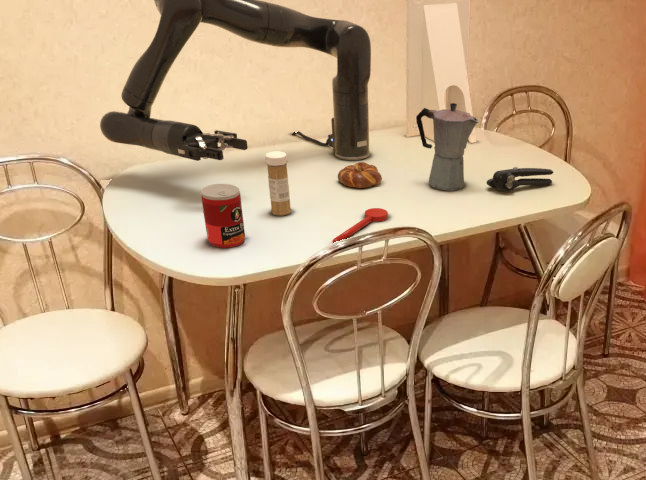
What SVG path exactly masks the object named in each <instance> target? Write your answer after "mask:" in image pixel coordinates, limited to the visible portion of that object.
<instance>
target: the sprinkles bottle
mask: <svg viewBox="0 0 646 480" xmlns="http://www.w3.org/2000/svg"><path fill="white" fill-rule="evenodd" d="M265 164H266V167H267V175H268V176H267V179H268V180H267V181H268V189H269V199H270V208H271V210H270V212H271V214H273V215H274V216H287V215H289V214H291V212H292V208H291V198H290V184H289V175H288V156H287V153H286V152H284V151H274V150H273V151H270V152H267V153H266V154H265Z"/></svg>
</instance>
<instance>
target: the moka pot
mask: <svg viewBox="0 0 646 480" xmlns="http://www.w3.org/2000/svg"><path fill="white" fill-rule="evenodd" d="M450 106H451V110H446V109H443V110H440V111H436V110H429V109H426V108H424V109H423V110H422V111H421V112H420V113H419V114H418V115H417V116H416V120H415V121H416V125H417V126H418V128H419V132H420V135H419V136H420V140H421V145H422V147H423V148H427V149H432V148H433V145H432V144H431V143H428V142H427V138H426V137H425V134H424V130H423V124H422V121H421V118H422V117H423V116H426V117H428V118H431V119H433V124H434V141H433V144H434V154H433V158H432V163H431V167H430V172H429V177H428V185H429V186H430V187H433V188H435V189H436V190H440V191H441V190H442V191H450V192H451V191H458V190H461V189H463V187H465V172H464V169H465V168H464V164H465V163H464V161H465V160H464V155H465V149H467V146H468V142H469V140H468V137H469V136H470V134H471V132H472V130H473V129H474V127H476V126H477V124H479V123H480V121H479V119H478V118H477V117H476V116H474V115H473V116H471V115H470V113H467V112H463V111H460V110H456V106H457V104H455V103H451V104H450Z"/></svg>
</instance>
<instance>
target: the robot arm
mask: <svg viewBox="0 0 646 480" xmlns="http://www.w3.org/2000/svg"><path fill="white" fill-rule="evenodd" d="M153 1H154V5H155V7H156V9H157V11H158V13H159V15H160V18H159V22H158V25H157V28H156V32H155V34H154V36H153V39H152V41H151V42H150V44H149V46H148V47H147V48H146V49H145V50H144V52H143V53H142V54H141V56H140V57H139V58H138V59H137V60H136V62H135V63H134V65H133V67H132V68H131V70H130V73H129V75H128V77H127V79H126V81H125V83H124V85H123V88H122V91H121V100H122V101H123V103H124V104H125V105H126V106H128V111H127V112H122V111H116V110H113V111H108V112H106V113H105V114H104V115H102V117H101V119H100V120H99V121H100V122H99V128H100V131H101V134H102V135H103V136H104V138H105V139H107V140H108V141H110V142H112V143H116V144H121V145H122V144H124V145H131V146H137V147H141V148H142V147H143V148H146V149H149V150H153V151H157V152H161V153H164V154H167V155H171V156H176V157H180V158H184V159H188V160H193V161H196V162H197V161H198V162H199V161H202V159H204V160H207V159H211V160H216V161H223V160H224V150H225V149H236V150H242V151H247V150H248V148H249V147H248V141H247V140H246V139H243V138H238V134H237V133H236V132H229V131H225V130H224V131H222V130H218V129H217V130H214V131H213V133H210V132H203V131H202V130H201V128H200V127H199V126H198V125H196V124H193V123H192V124H191V123H186V122H182V121H176V120H165V119H158V118H153V117H151V114H152V107H153V105H154V103H155V101H156V98H157V97H158V94H159V93H160V90H161V88H162V85H163V83H164V81H165V79H166V77H167V75H168V73H169V72H170V70H171V68H172V66H173V64H174V63H175V62H176V60H177V58H178V56H179V55H180V53H181V52H182V50H183V49H184V47H185V46H186V44H187V42H188V41H189V40H190V38H191V37H192V35H193V34H194V33H195V31H196V30H197V28H198V27H199V25H200V24H202V23H203V24H208V25H212V26H215V27H217V28H218V27H219V28H220V29H223V30H225V31H227V32H230V33H231V34H233V35H235V36H238V37H240V38H242V39H244V40H247V41H250V42H254V43H256V44H261V45H266V46H271V47H277V48H305V49H310V50H315V51H318V52H321V53H324V54H327V55H329V56H332V57H334V58H336V75H334V76H333V77H332V80H331V86H332V87H331V88H332V89H331V90H332V107H333V117H332V118H331V133H330V134H327V139H326V142H322V141H321V140H320V141H319V140H318V139H315V138H312V137H310V136H308V135H305V134H303V132H302V131H300V130H297V131H298V132H297V133H295V131H293V132H292V134H291V135H292V136H296V135H299V136H300V137H302V138H303V139H305V140H307V141H310V142H312V143H316V144H317V145H319V146H322V147H330V148H332V154H333V155H334V156H335V158H338V159H340V160H344V161H345V160H346V161H359V160H364V159H367V158H370V155H371V153H370V122H369V121H370V119H369V118H370V117H369V113H370V112H369V83H370V79H371V75H372V74H371V70H372V44H371V38H370V35H369V33H368V31H367V30H366V29H365V28H364V27H362V25H360V24H357V23H354V22H352V21H349V20H344V19H343V20H341V19H332V18H324V17H323V18H322V17H317V16H311V15H308V14H305V13H302V12H300V11H298V10H295V9H293V8H290V7H286V6H283V5H280V4H277V3H273V2H269V1H263V0H153ZM219 144H220V146H219Z"/></svg>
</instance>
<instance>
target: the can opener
mask: <svg viewBox="0 0 646 480" xmlns="http://www.w3.org/2000/svg"><path fill="white" fill-rule="evenodd" d="M553 174H554V171H553V170H552V169H549V168H539V167H538V168H537V167H521V168H519V167H518V166H513V167H512V168H508V169H501V170H497V171H495V172H494V173H493V175H492V177H491V178H489V179H487V180H486V185H488V187H490V188H492V189H496V190H499V191H500V192H503V193H511V192H513V191H514V190H515V189H516V188H518V187H521V186H529V187H531V186H533V187H542V186H548V185H551V184H552V183H553V180H552V179H551V178H540V177H539V178H536V177H535V176H551V175H553ZM519 177H520V178H519ZM526 177H527V178H526ZM528 177H535V178H528ZM516 178H518V179H516Z"/></svg>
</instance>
